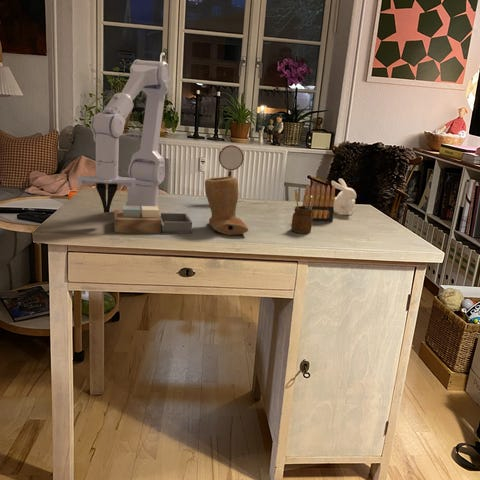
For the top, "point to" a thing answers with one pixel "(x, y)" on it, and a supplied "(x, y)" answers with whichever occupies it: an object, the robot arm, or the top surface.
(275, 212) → the top surface
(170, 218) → the bin
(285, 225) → the top surface
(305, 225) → the utensil holder
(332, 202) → the ammunition clip
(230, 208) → the tan suede boot
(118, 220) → the walnut plate
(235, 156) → the magnifying glass
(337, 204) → the rabbit
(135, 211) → the tile slate
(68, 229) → the top surface
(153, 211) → the tile cream
